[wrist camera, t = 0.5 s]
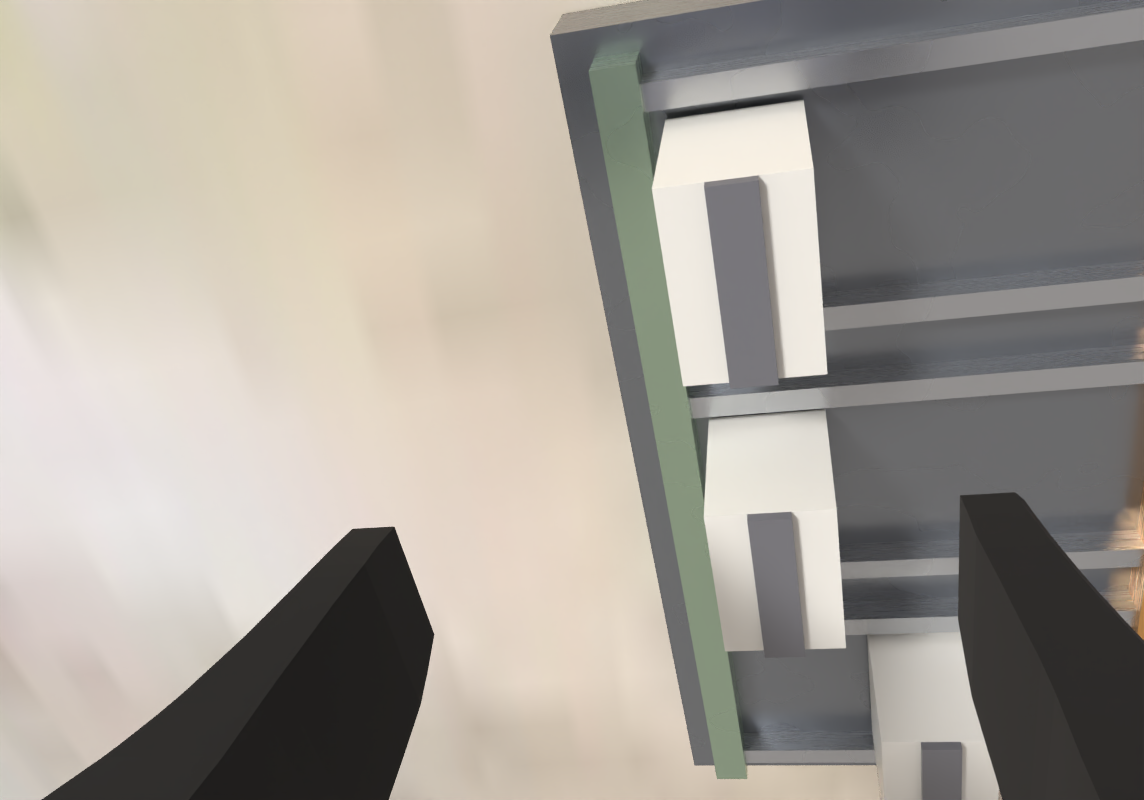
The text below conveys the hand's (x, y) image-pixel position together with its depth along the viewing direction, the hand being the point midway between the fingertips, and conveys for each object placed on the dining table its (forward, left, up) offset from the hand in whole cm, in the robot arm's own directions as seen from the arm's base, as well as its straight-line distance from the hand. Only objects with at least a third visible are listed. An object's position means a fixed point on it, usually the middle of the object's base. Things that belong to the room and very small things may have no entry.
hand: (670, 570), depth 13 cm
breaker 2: (-1, +5, -8) cm, 10 cm away
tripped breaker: (-4, +12, -8) cm, 15 cm away
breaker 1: (-1, -1, -8) cm, 8 cm away
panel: (-5, +5, -10) cm, 12 cm away
